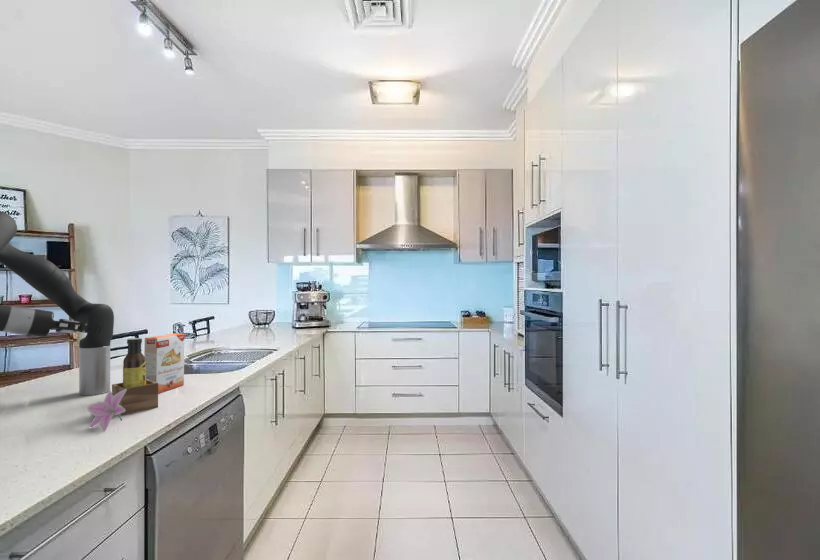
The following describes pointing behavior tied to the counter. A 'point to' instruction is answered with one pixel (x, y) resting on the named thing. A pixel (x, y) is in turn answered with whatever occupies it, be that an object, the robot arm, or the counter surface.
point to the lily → (107, 409)
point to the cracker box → (165, 360)
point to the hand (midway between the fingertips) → (96, 330)
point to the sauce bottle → (134, 365)
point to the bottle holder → (138, 397)
